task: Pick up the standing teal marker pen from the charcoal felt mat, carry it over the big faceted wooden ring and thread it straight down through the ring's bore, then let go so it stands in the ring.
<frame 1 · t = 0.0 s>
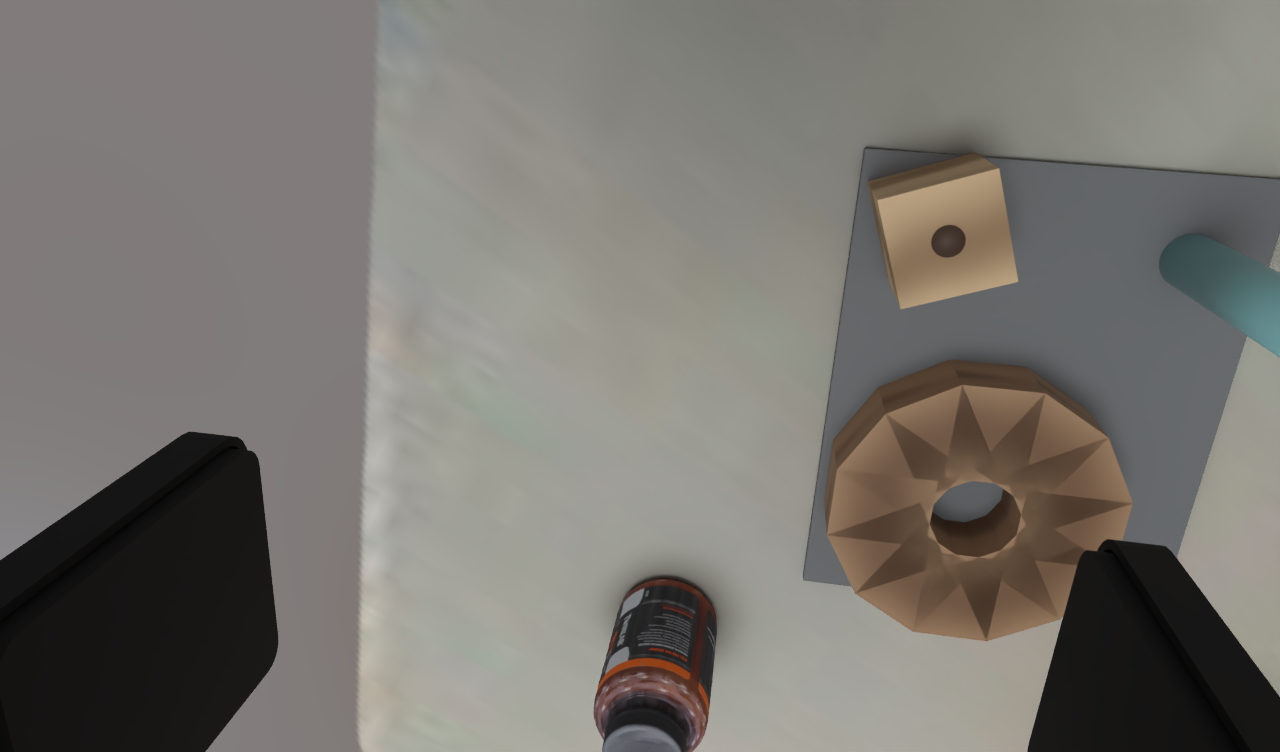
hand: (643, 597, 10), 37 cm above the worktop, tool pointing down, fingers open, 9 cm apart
cube bead: (930, 218, 44), resting on felt mat
supplement bottle: (668, 614, 55), on the worktop
teal marker pen: (1188, 261, 43), resting on felt mat
felt mat: (1018, 401, 47), on the worktop
faceted wooden ring: (961, 486, 48), resting on felt mat
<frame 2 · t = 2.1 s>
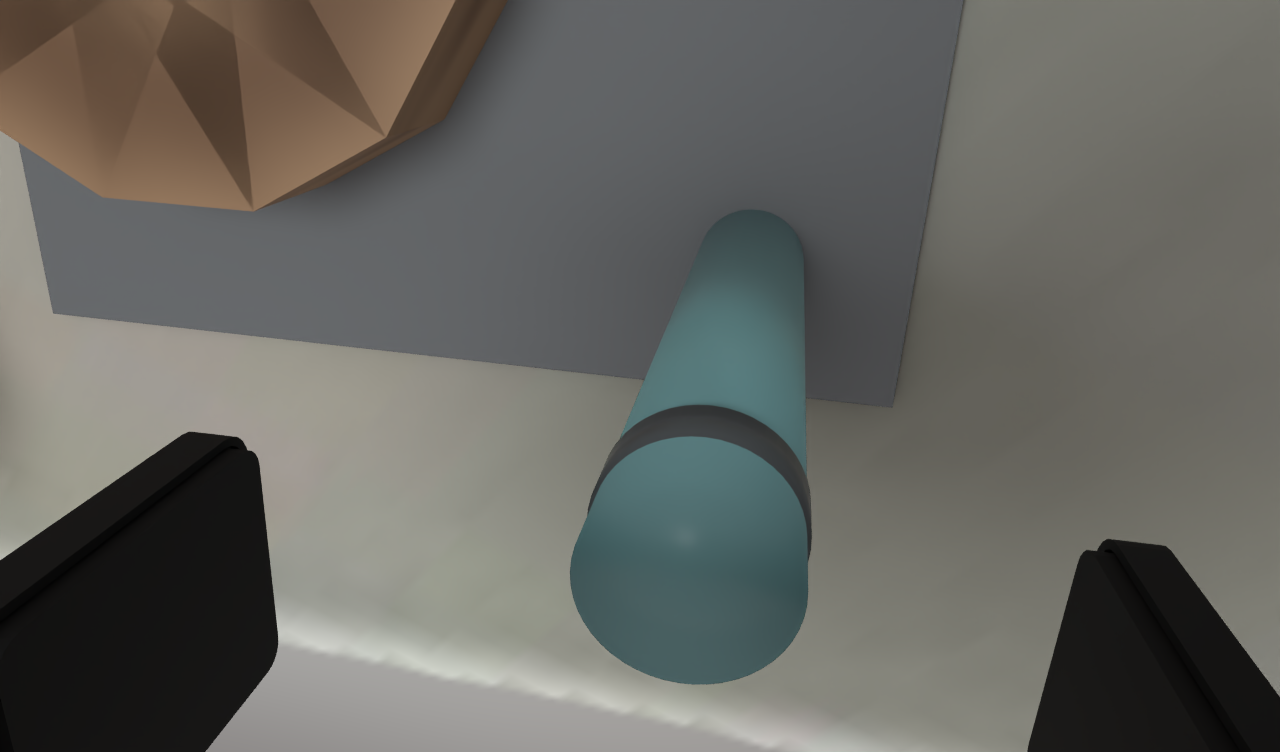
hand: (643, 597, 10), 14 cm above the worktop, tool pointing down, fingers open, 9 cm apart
teal marker pen: (750, 261, 23), resting on felt mat
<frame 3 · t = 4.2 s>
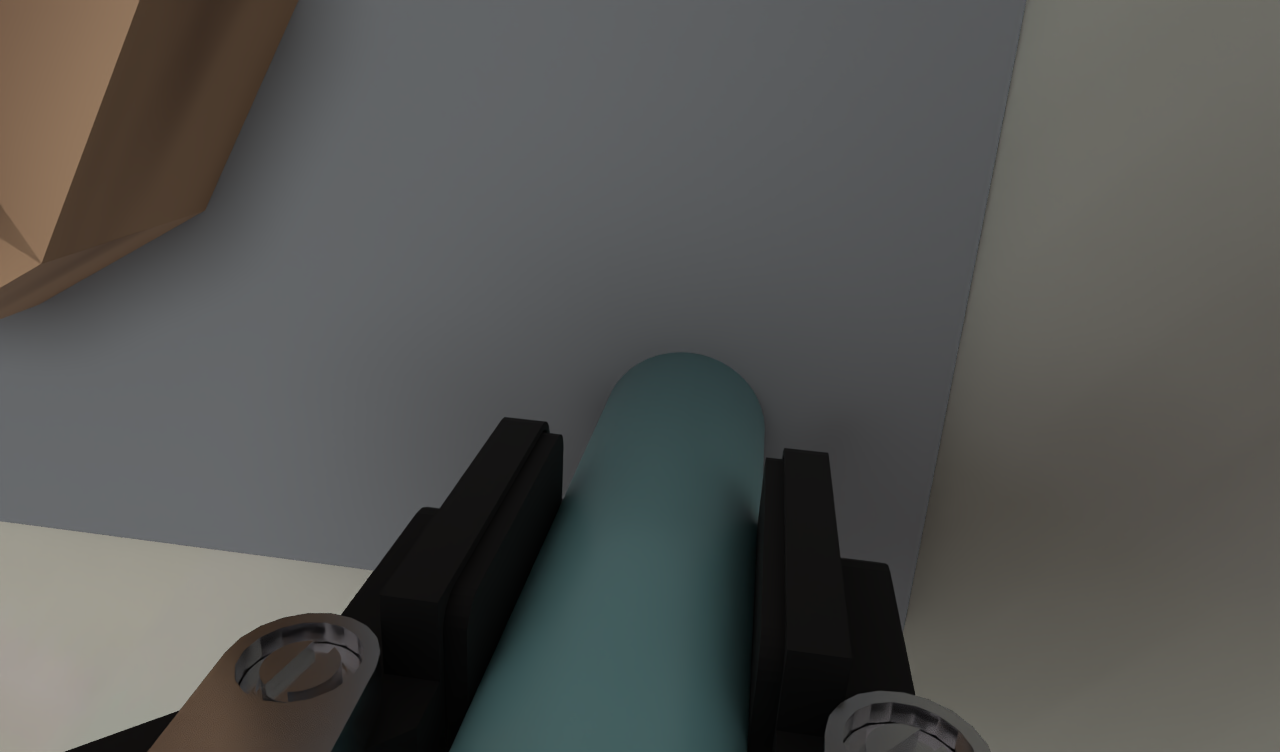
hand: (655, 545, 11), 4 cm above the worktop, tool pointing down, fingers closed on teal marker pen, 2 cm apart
teal marker pen: (683, 428, 15), resting on felt mat, touching gripper
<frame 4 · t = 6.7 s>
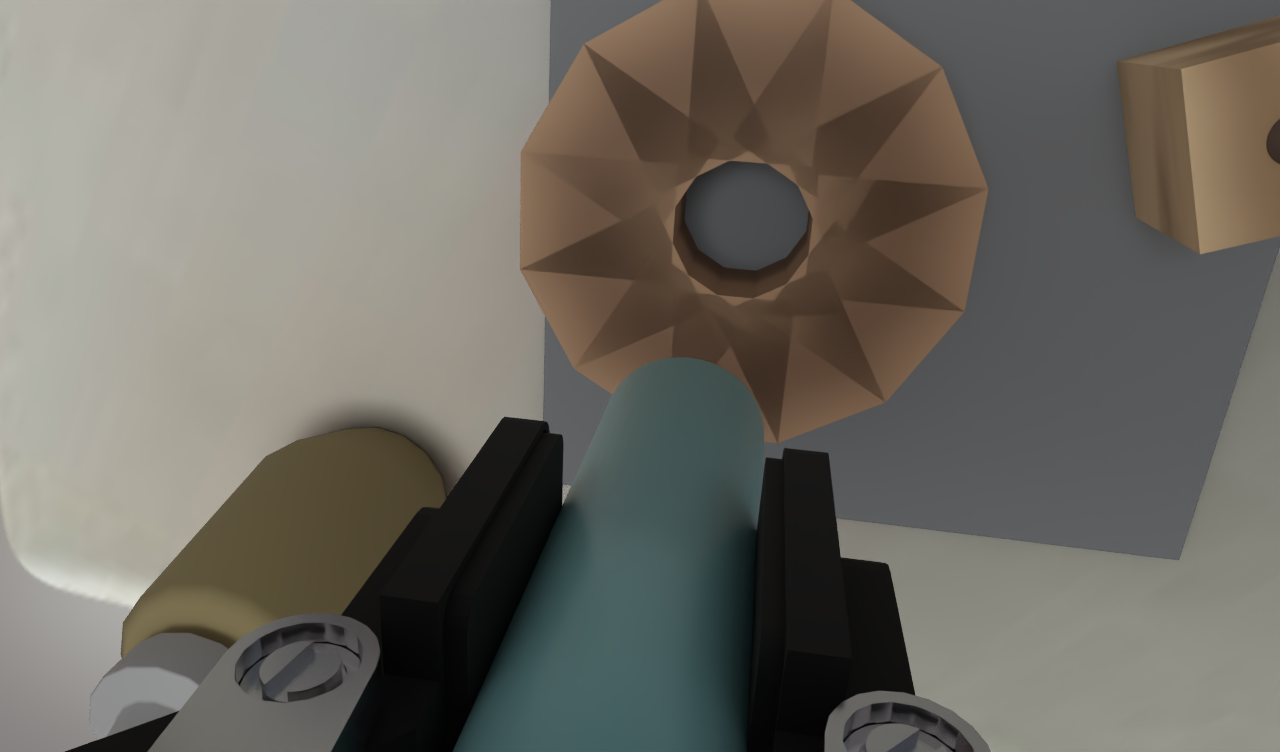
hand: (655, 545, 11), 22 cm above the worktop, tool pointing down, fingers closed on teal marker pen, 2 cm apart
cube bead: (1213, 119, 28), resting on felt mat
teal marker pen: (683, 432, 15), point 19 cm above the worktop, touching gripper
felt mat: (884, 276, 32), on the worktop
faceted wooden ring: (746, 209, 31), resting on felt mat
squeeze bottle: (382, 486, 38), on the worktop
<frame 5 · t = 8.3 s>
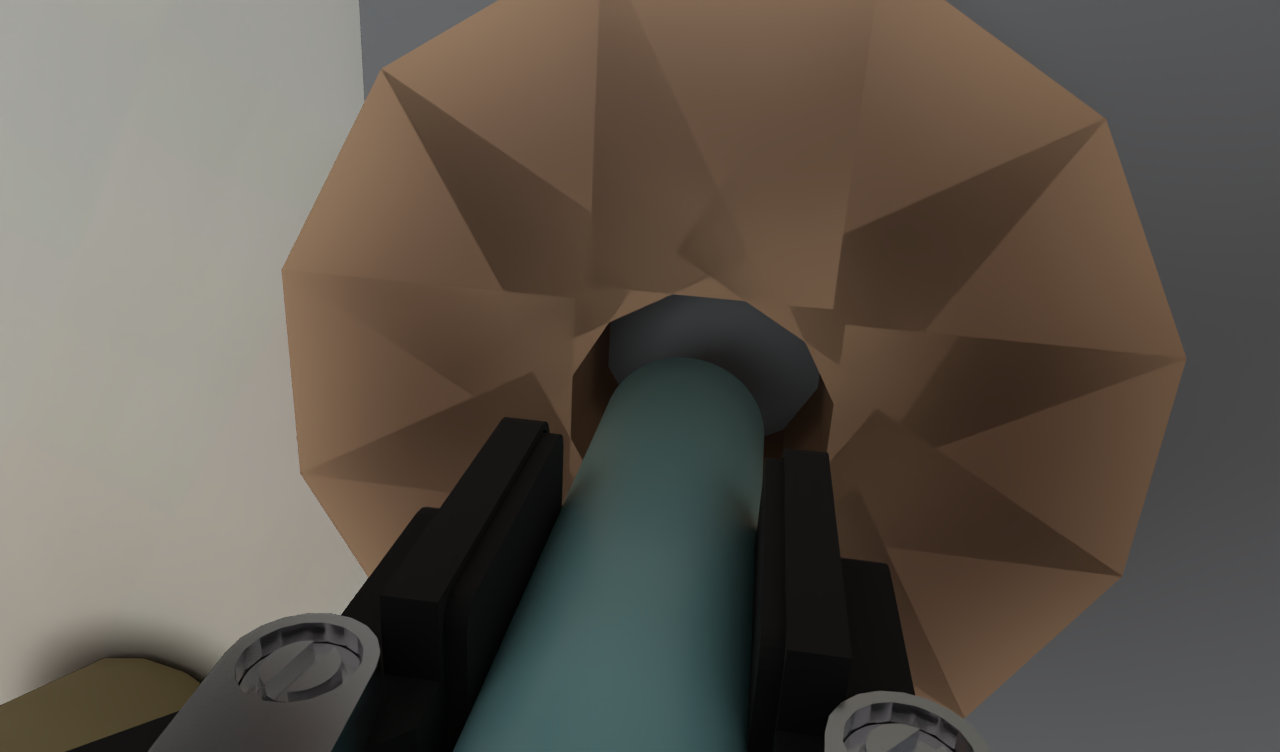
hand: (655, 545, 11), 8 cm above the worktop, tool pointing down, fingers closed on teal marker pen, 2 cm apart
teal marker pen: (683, 433, 15), point 4 cm above the worktop, touching gripper
felt mat: (952, 461, 19), on the worktop
faceted wooden ring: (714, 350, 18), resting on felt mat
squeeze bottle: (166, 735, 25), on the worktop
when the fingers open (5 cm above the worktop, at t = 9.4 s): teal marker pen drops 1 cm, resting on felt mat.
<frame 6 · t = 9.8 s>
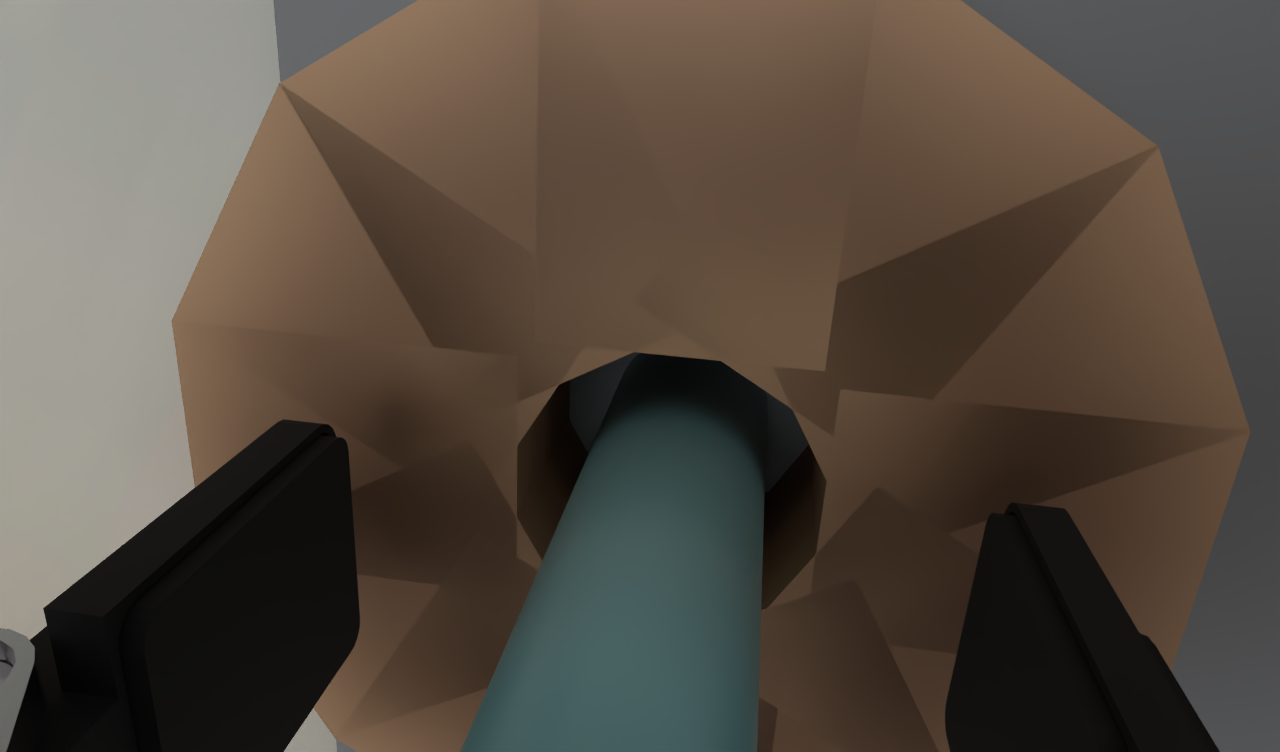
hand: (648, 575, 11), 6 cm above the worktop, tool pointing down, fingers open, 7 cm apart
teal marker pen: (691, 406, 16), resting on felt mat
felt mat: (961, 526, 16), on the worktop
faceted wooden ring: (689, 402, 16), resting on felt mat
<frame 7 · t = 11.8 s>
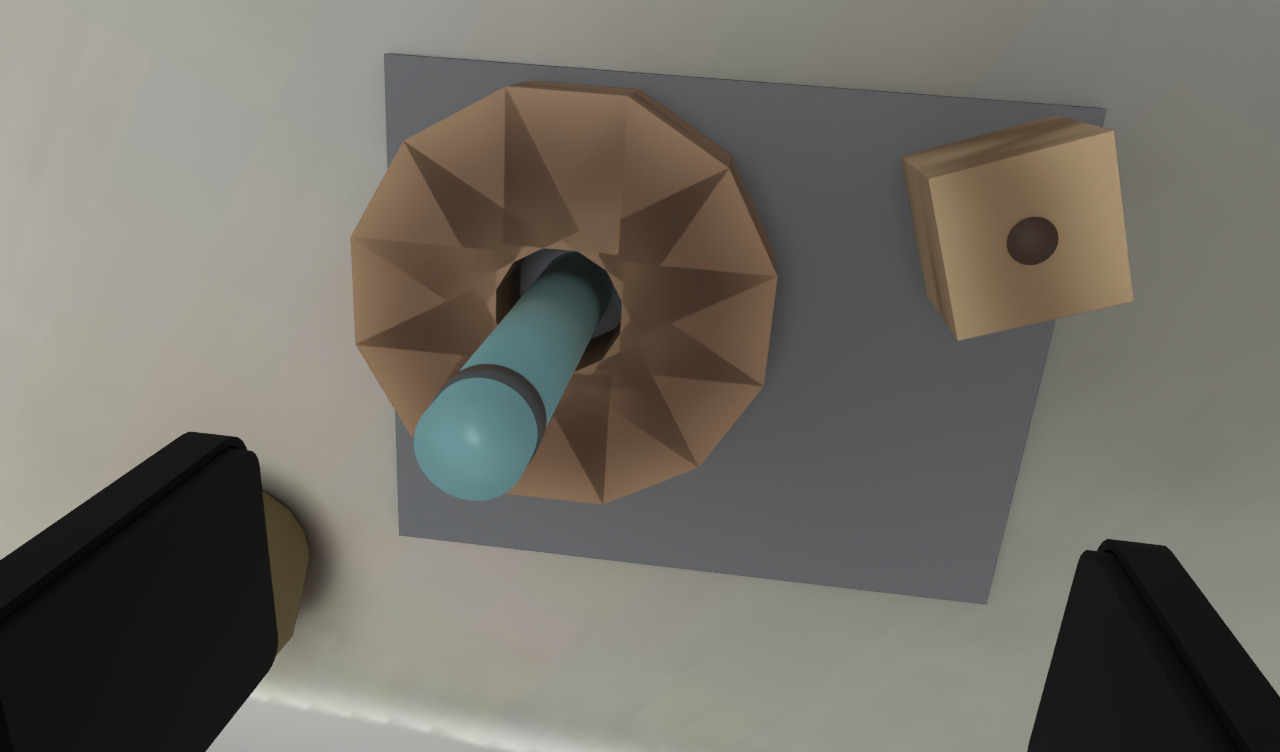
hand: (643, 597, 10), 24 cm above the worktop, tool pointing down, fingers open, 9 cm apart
cube bead: (989, 209, 31), resting on felt mat
teal marker pen: (577, 286, 33), resting on felt mat
felt mat: (707, 346, 34), on the worktop
faceted wooden ring: (576, 284, 33), resting on felt mat
squeeze bottle: (248, 539, 40), on the worktop
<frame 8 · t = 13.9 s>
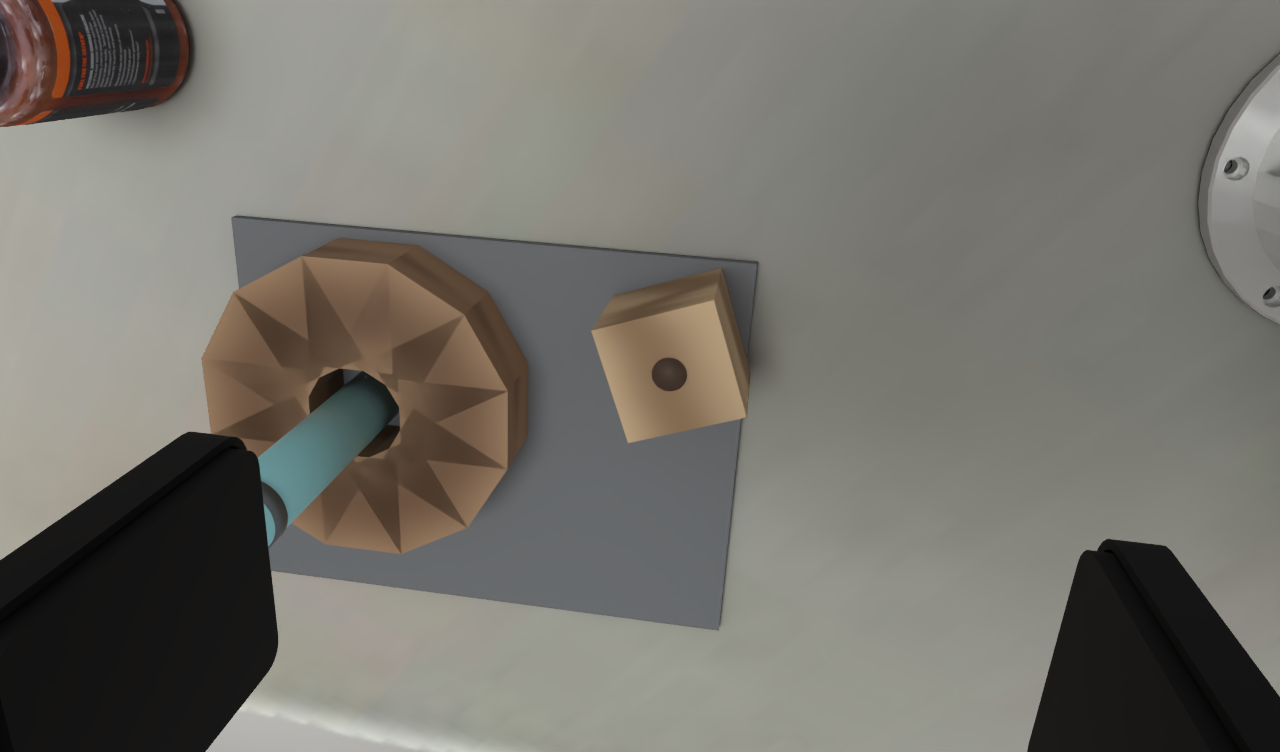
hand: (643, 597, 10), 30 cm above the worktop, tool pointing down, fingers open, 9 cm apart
cube bead: (681, 334, 41), resting on felt mat
supplement bottle: (135, 37, 40), on the worktop
teal marker pen: (386, 386, 44), resting on felt mat
felt mat: (489, 430, 44), on the worktop
faceted wooden ring: (385, 384, 44), resting on felt mat
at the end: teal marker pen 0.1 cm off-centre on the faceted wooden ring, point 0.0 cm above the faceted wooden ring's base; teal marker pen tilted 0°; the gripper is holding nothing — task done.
